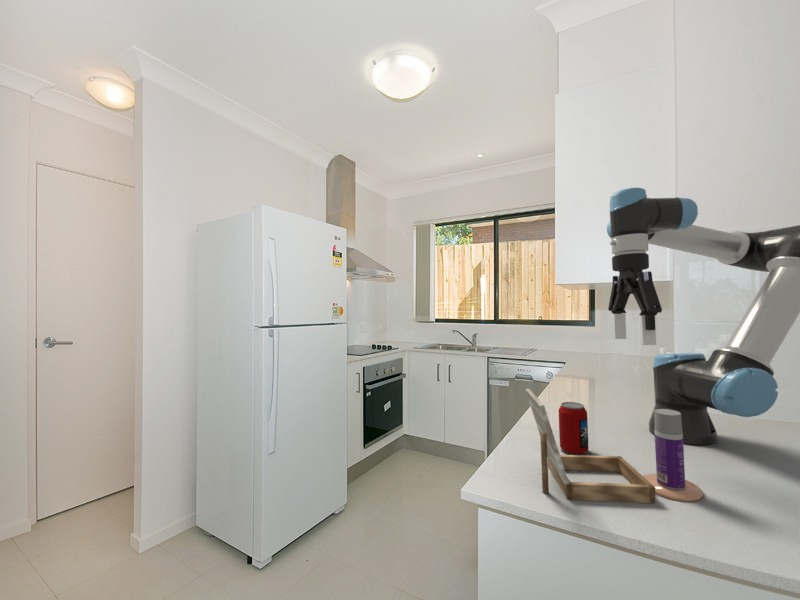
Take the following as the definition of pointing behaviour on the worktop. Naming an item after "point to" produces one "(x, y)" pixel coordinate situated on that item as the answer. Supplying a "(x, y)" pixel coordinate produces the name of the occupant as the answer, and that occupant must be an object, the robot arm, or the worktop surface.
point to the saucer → (687, 495)
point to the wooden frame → (586, 468)
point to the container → (669, 449)
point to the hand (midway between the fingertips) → (633, 341)
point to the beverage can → (573, 428)
